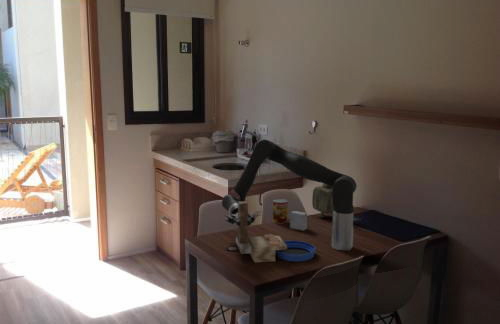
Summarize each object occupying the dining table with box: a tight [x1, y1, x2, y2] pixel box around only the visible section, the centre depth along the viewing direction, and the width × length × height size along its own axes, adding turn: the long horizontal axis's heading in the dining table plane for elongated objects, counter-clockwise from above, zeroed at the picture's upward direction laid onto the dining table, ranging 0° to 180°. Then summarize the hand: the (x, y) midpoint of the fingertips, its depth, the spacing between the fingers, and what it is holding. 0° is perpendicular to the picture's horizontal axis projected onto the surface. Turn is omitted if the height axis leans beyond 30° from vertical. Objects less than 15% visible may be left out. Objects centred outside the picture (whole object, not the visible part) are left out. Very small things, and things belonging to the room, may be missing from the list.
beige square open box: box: [248, 235, 287, 263], centre depth 196 cm, size 14×14×6 cm
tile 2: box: [269, 237, 280, 242], centre depth 196 cm, size 4×4×1 cm
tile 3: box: [263, 233, 276, 240], centre depth 200 cm, size 4×4×1 cm
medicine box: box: [289, 210, 308, 231], centre depth 235 cm, size 8×4×9 cm, turn 58°
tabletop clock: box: [311, 183, 333, 219], centre depth 255 cm, size 14×9×25 cm, turn 32°
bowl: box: [275, 240, 316, 262], centre depth 199 cm, size 18×18×4 cm
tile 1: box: [269, 241, 280, 246], centre depth 192 cm, size 4×4×1 cm
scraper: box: [235, 200, 251, 255], centre depth 192 cm, size 4×15×20 cm, turn 11°
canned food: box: [272, 198, 289, 225], centre depth 247 cm, size 8×8×12 cm
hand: (244, 223), depth 189 cm, fingers closed on scraper, 3 cm apart
